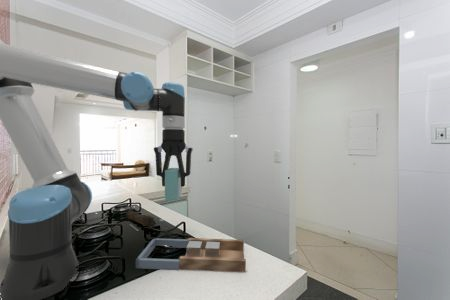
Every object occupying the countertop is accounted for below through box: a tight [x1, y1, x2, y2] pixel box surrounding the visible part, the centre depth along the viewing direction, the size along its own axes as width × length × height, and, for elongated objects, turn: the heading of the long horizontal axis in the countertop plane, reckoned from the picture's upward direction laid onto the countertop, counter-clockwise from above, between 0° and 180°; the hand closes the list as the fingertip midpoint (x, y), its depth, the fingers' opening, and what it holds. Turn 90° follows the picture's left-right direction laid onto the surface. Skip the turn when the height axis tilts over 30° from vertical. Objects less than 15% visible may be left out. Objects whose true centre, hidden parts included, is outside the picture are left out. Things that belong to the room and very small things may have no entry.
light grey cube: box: [205, 242, 220, 258], centre depth 64 cm, size 4×4×4 cm
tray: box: [135, 237, 188, 271], centre depth 64 cm, size 12×13×4 cm
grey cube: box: [185, 241, 202, 257], centre depth 64 cm, size 4×4×4 cm
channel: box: [178, 237, 247, 273], centre depth 64 cm, size 18×12×4 cm
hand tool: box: [125, 210, 155, 229], centre depth 92 cm, size 19×4×5 cm, turn 50°
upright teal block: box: [164, 167, 180, 201], centre depth 75 cm, size 4×7×10 cm, turn 179°
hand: (173, 195), depth 75 cm, fingers closed on upright teal block, 4 cm apart
